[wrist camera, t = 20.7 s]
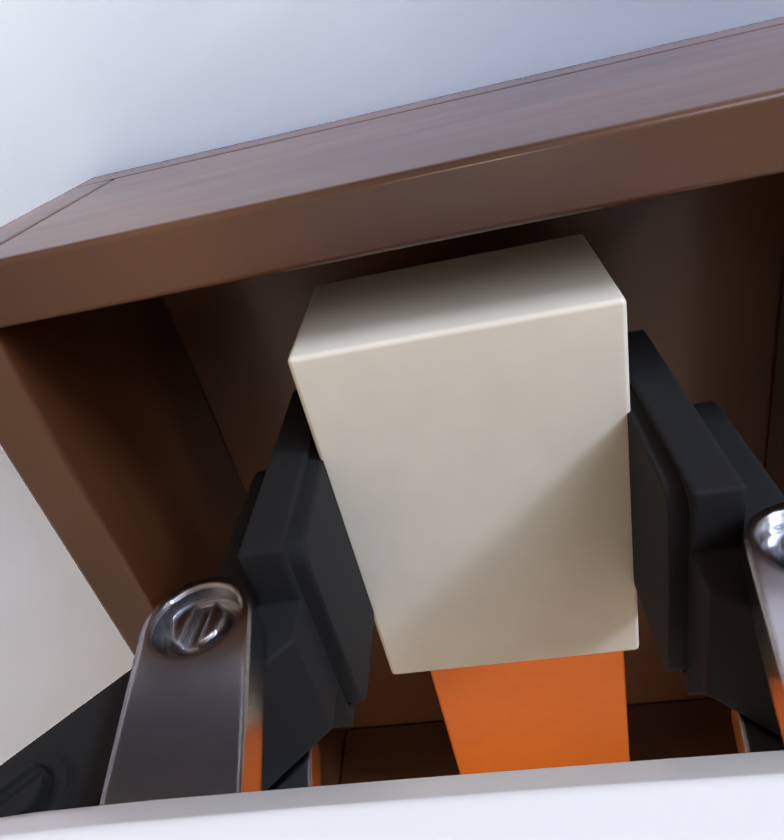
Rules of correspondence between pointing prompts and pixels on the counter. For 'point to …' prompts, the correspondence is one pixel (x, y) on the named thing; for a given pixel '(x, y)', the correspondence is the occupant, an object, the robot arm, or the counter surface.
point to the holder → (371, 254)
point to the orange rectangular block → (536, 713)
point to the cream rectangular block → (480, 452)
